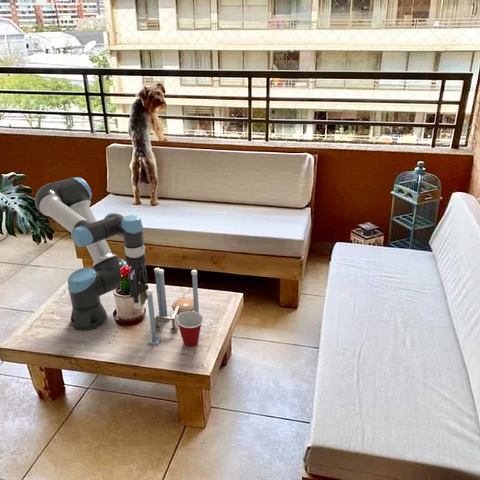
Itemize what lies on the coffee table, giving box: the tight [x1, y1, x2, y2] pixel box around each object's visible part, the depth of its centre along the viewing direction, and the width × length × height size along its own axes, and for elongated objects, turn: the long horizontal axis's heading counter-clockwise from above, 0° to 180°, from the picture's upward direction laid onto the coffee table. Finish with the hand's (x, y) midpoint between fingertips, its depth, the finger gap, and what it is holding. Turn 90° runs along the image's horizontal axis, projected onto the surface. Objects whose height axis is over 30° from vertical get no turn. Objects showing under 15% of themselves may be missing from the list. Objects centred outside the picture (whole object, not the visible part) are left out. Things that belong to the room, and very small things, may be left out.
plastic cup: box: [175, 310, 204, 347], centre depth 178 cm, size 11×11×12 cm
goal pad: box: [172, 297, 194, 313], centre depth 205 cm, size 11×11×1 cm
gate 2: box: [153, 267, 200, 316], centre depth 191 cm, size 4×20×24 cm, turn 83°
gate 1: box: [146, 268, 172, 346], centre depth 184 cm, size 4×20×24 cm, turn 173°
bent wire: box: [155, 306, 181, 333], centre depth 191 cm, size 10×12×6 cm
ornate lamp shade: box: [131, 282, 149, 306], centre depth 183 cm, size 8×7×8 cm
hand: (141, 302), depth 185 cm, fingers closed on ornate lamp shade, 7 cm apart
